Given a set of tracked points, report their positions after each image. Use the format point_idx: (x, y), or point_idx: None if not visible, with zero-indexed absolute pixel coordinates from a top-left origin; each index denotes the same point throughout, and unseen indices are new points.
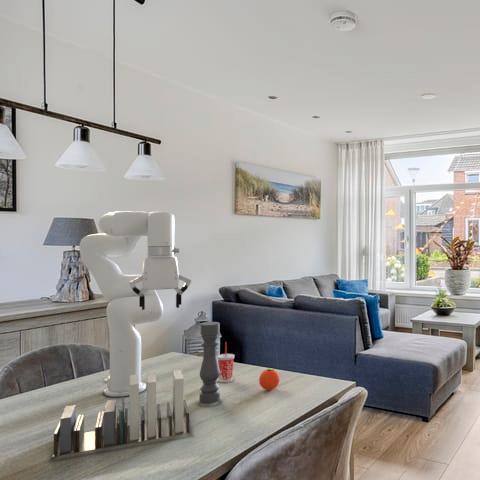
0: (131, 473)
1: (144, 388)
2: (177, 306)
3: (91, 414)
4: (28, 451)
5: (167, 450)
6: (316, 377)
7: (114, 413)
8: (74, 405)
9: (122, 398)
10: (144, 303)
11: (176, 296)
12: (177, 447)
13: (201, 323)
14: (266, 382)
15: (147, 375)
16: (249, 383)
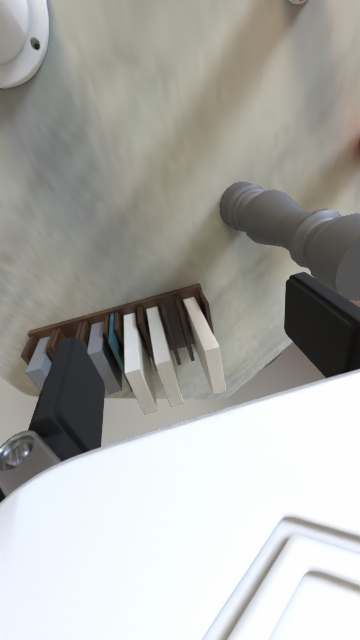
0: (161, 398)
1: (48, 22)
2: (292, 337)
3: (4, 224)
4: (7, 356)
5: (186, 364)
6: None
7: (118, 379)
8: (39, 370)
9: (111, 347)
10: (101, 416)
11: (333, 362)
12: (196, 358)
13: (343, 259)
14: None
15: (160, 376)
16: (351, 50)
